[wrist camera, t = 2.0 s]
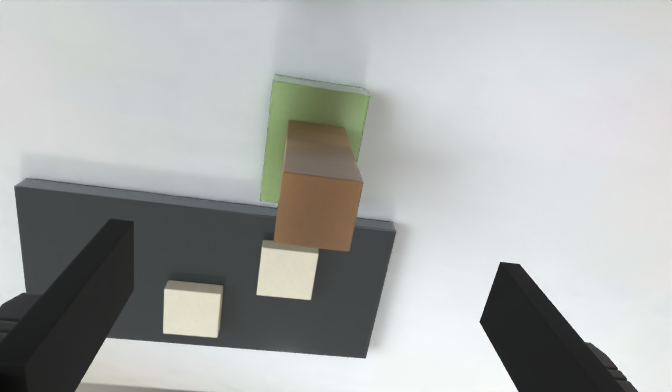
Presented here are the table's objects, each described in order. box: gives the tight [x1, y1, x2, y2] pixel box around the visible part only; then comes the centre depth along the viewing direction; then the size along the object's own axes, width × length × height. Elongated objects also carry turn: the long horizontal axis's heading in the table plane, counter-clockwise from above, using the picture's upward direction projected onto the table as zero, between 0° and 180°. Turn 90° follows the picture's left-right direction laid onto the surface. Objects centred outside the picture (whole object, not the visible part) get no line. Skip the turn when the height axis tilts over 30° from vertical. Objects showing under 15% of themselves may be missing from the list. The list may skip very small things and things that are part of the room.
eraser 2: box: [257, 240, 319, 300], centre depth 33 cm, size 4×4×1 cm
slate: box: [14, 178, 396, 358], centre depth 35 cm, size 26×12×2 cm, turn 81°
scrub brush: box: [260, 75, 370, 251], centre depth 26 cm, size 6×8×12 cm
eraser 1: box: [163, 280, 223, 338], centre depth 34 cm, size 4×4×1 cm
